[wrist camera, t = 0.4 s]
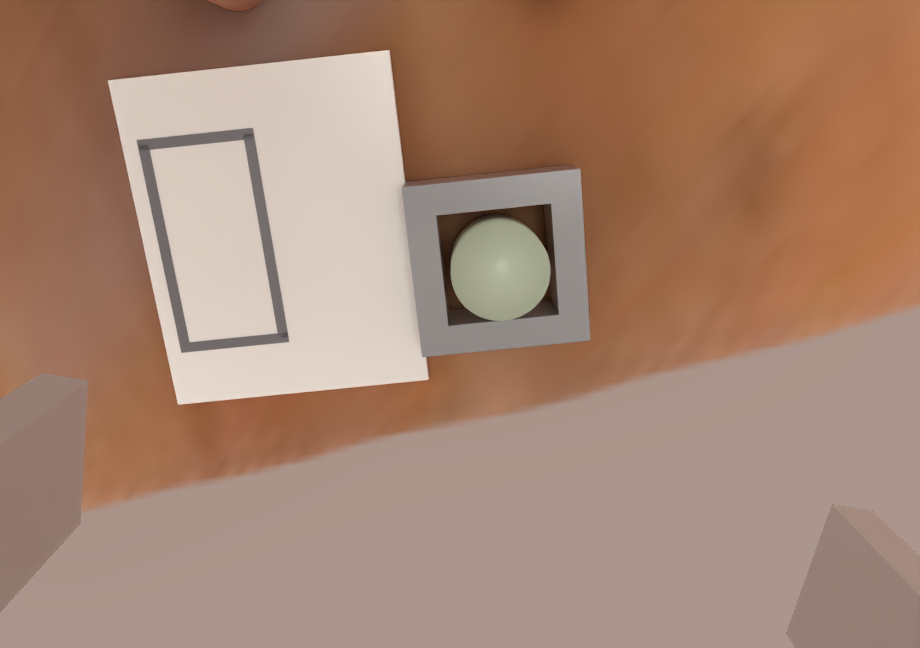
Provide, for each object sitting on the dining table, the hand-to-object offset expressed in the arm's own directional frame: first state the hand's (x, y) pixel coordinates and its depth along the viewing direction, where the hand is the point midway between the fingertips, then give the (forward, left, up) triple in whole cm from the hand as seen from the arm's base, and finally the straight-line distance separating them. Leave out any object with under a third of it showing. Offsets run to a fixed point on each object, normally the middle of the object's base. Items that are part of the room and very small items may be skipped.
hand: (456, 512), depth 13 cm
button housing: (0, +2, -25) cm, 25 cm away
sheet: (-2, -9, -25) cm, 27 cm away
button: (0, +2, -24) cm, 24 cm away
